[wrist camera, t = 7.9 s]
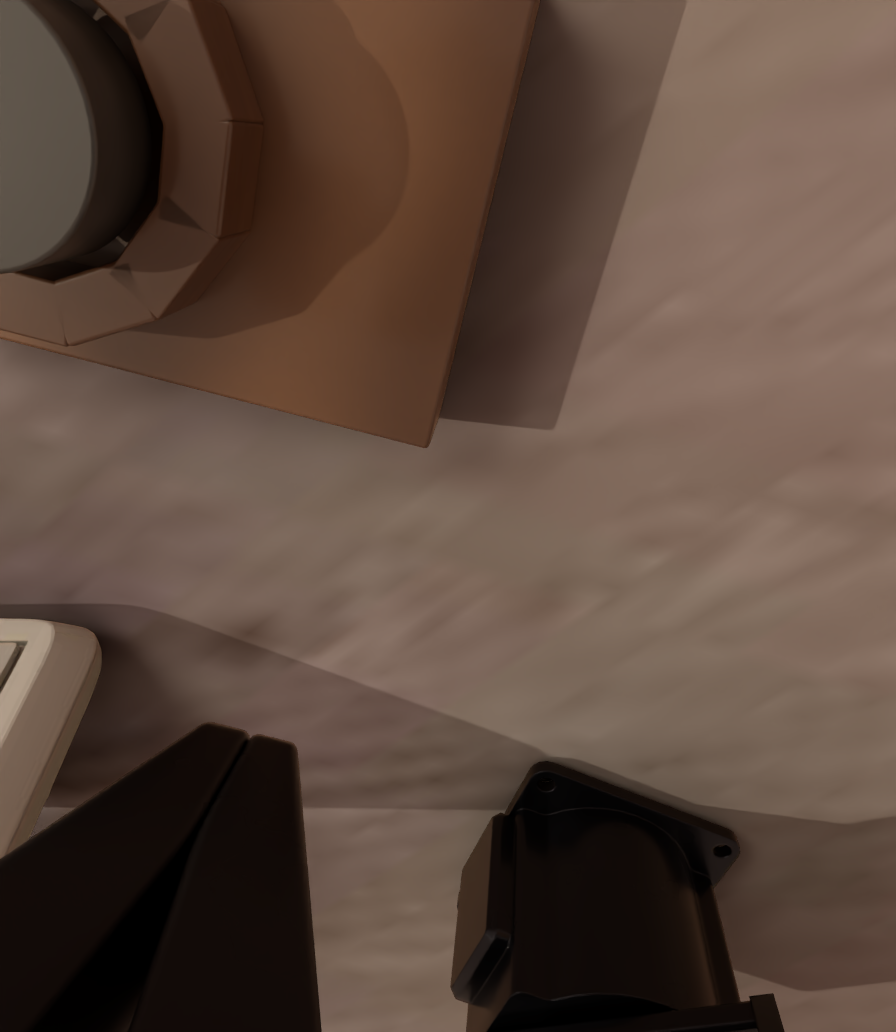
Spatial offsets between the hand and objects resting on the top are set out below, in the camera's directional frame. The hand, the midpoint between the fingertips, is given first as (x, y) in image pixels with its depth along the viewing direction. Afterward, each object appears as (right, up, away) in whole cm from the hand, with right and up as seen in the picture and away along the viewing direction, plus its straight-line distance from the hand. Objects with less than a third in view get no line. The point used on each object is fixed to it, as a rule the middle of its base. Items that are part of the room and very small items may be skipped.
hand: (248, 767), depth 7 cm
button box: (-3, +10, +10) cm, 15 cm away
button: (-5, +9, +7) cm, 13 cm away
